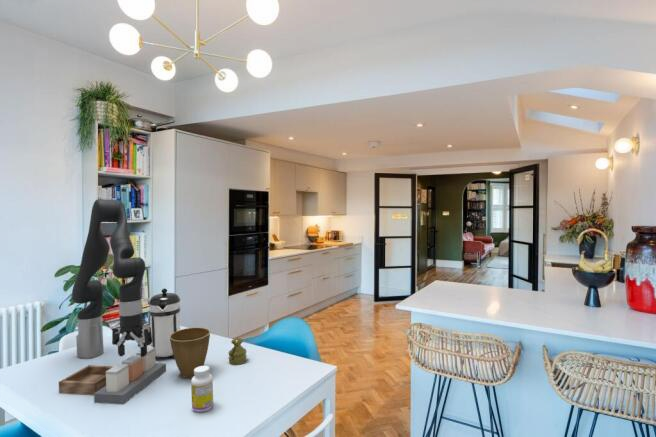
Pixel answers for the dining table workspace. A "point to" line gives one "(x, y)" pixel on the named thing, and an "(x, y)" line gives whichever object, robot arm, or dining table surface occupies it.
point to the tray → (85, 380)
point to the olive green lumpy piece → (237, 352)
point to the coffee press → (164, 321)
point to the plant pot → (190, 349)
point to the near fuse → (117, 378)
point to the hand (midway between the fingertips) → (132, 355)
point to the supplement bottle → (202, 389)
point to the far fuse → (148, 359)
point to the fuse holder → (130, 387)
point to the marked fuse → (134, 367)
